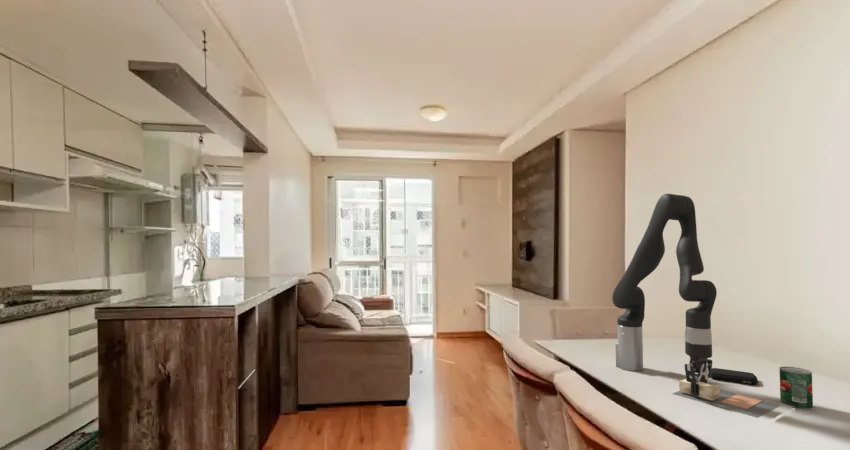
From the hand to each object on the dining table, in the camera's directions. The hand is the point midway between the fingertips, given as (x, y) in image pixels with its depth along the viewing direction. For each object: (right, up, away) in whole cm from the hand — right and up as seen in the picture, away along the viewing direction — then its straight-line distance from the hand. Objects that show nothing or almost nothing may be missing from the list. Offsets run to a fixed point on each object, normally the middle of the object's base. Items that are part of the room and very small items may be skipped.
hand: (699, 393), depth 142 cm
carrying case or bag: (+25, -3, +20) cm, 32 cm away
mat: (+7, -1, -3) cm, 7 cm away
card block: (0, 0, 0) cm, 0 cm away
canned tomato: (+27, -2, -6) cm, 27 cm away
